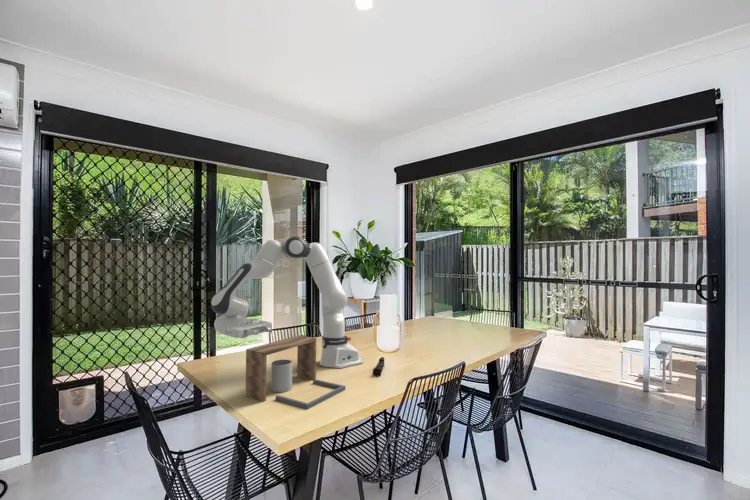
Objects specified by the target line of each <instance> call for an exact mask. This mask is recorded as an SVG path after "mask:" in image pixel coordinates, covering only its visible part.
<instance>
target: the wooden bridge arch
mask: <svg viewBox="0 0 750 500" xmlns="http://www.w3.org/2000/svg"><path fill="white" fill-rule="evenodd" d="M296 347H297V360H296V363H297V366H296V367H297V371H296V372H297V373H296V374H297V375H296V376H297V377H298V378H304V379H308V380H312V381H313V380H314V379H317V337H312V336H306V335H296V336H292V337H288V338H285V339H280V340H276V341H274V342H269V343H265V344H262V345H258V346H254V347H250V348H246V350H245V397H246V398H250V399H252V400H256V401H259V402H263V403H264V402H266V401H267V359H268V358H267V356H270V355H271V354H272V355H273V354H276V353H280V352H282V351H287V350H290V349H293V348H296Z"/></svg>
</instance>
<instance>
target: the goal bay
mask: <svg viewBox="0 0 750 500" xmlns="http://www.w3.org/2000/svg"><path fill="white" fill-rule="evenodd" d="M312 383H313V384H314V385H318V386H323V387H328V388H331V389H333V390H331V391H329V392H327V393H325V394H323V395H321V396H319V397H317V398H315V399H314V400H313V399H312V400H311V401H309V402H305V401H301V400H298V399H294V398H290V397H286V396H283V395H278V394H277V395H275V401H278V402H281V403H285V404H289V405H291V406H292V405H293V406H295V407H299V408H301V409H302V408H303V409H306V410H309V409H311V408H314V407H315V406H316V405H318V404H320V403H322V402H325V401H326V400H328V399H330V398H332V397H334V396H336V395H338V394H340V393H342V392H343V391H346V385H342V384H338V383H333V382H329V381H325V380H320V379H318V378H316V379H314V380H312Z"/></svg>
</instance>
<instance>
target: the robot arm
mask: <svg viewBox="0 0 750 500" xmlns="http://www.w3.org/2000/svg"><path fill="white" fill-rule="evenodd" d="M283 258H288V259H291V260H292V259H293V260H295V259H301V258H303V260H304V261H305V262H306V264H307V267H308V268H309V269H308V270H309V271H310V273H311V275H312V278H313V280H314V284H316V286H317V288H318V289H319V291H320V294H321V312H322V336H321V347H322V349H321V357H320V361H319V364H318V365H320V366H322V367H324V368H336V369H343V368H348V367H353V366H356V365H359V364H360V365H361V364H363V363H364V360H363V358H361V357H360V356H359V351H358V349H357V348H356V347H354V346H353V345H352V344H351V343H349V342H351V340H352V337H351V336H348V335H345V333H346V332H345V330H346V329H345V325H346V324H345V321H346V320H345V315H344V308H345V307H346V306H347V305H348V300H349V298H348V295H347V293H346V292H345V290H344V287H343V286H342V283H341V281H340V280H339V278H338V276H337V273H336V272H335V270H334V267H333V266H332V262H331V260H330V258H329V256H328V253H327V252H326V250H325V249H324V247H323V245H322V244H321V243H319V242H311V243H309V242H307V240H306V239H304V238H303V237H300V236H298V235H297V236H295V235H294V236H289V237H288V238H286V239H285V240H283V241H279V240H276V239H269V240H267V241H266V242H265V243H264V244H263V245H262V246H261V248H260V249H259V250H258V252H257V253H256V255H255V256H254V257H253V258H252V259H251V260H250V261H249V262H247V263H243V264H242V265H241V266H240V267H239V268H238V269H237V270H236V272H235V273H234V274H233V275H231V277H230V278H229V279H228V281H227V282H226V283H225V284H224V285H223V287H221V288H220V289H219V290H218V291H217V292H216V293H215V294H214V295H213V296H212V298H211V300H210V307H211V309H212V311H213V312H214V313H216V314H220V316H218V317H216V319H215V320H214V323H213V326H214V329H215V331H216V332H218V333H219V334H220V335H223V336H227V337H231V338H234V339H245V338H247V337H249V336H252V335H253V336H257V335H259V334H262V333H270V332H271V331H272V330H273V324H272V322H271V321H267V320H262V319H261V320H259V318H247V317H249V313H250V303H249V302H248V301H247V300H246V299H243V298H241V297H238V296H236V295H234V293H236V291H237V290H238V289H239V288H240V287H241V286H242V284H243V283H244V282H245V281H246V280H250V279H265V278H268V277H269V276H271V275H272V274H273V273H274V271H275V269H276V268H277V267H278V264H279V262H280V261H281V260H282V259H283Z"/></svg>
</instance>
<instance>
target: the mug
mask: <svg viewBox="0 0 750 500" xmlns="http://www.w3.org/2000/svg"><path fill="white" fill-rule="evenodd" d="M270 366H271V368H270V369H271V373H270V374H271V378H270V379H271V381H270V383H271V384H270V389H271V391H272V392H274V393H286V392H289V391H291V390H292V388H293V360H291V359H278V360H273V361H272V362H271V365H270Z"/></svg>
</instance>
